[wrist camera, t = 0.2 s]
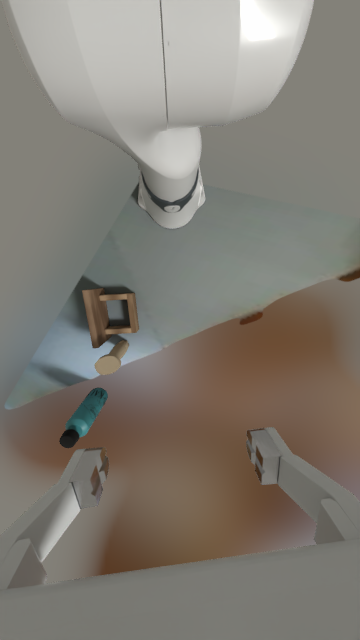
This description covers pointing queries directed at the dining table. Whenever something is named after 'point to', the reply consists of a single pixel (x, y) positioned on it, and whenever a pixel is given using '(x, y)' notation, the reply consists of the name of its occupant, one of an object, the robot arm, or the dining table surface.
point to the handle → (112, 359)
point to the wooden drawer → (99, 315)
